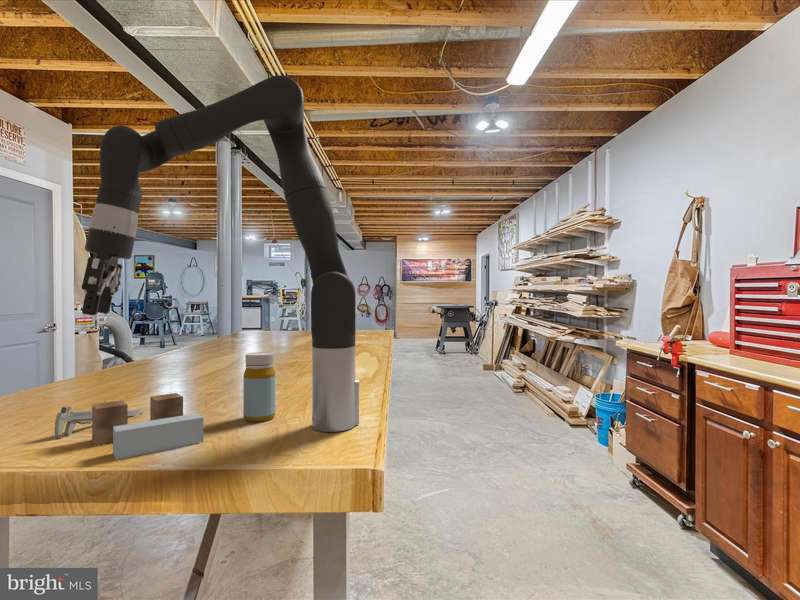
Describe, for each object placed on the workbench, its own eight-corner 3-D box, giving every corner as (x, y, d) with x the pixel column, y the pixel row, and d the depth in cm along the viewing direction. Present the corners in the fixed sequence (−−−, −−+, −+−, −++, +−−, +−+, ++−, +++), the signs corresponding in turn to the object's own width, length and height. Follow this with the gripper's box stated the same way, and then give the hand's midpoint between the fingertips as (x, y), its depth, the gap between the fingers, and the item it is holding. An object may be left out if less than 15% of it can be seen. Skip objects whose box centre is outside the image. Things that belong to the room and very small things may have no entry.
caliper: (58, 440, 82) (58, 408, 82) (54, 440, 83) (54, 408, 83) (144, 413, 102) (144, 388, 102) (141, 413, 102) (141, 387, 102)
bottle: (262, 423, 92) (262, 356, 93) (236, 421, 95) (236, 354, 95) (281, 415, 99) (281, 352, 99) (256, 413, 101) (256, 351, 101)
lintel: (197, 438, 83) (197, 413, 84) (203, 443, 80) (203, 417, 80) (112, 454, 75) (113, 426, 75) (115, 461, 71) (115, 431, 71)
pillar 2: (176, 424, 92) (176, 392, 92) (183, 429, 88) (183, 396, 89) (150, 429, 89) (150, 396, 89) (156, 434, 85) (156, 400, 85)
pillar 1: (122, 434, 85) (122, 400, 85) (127, 440, 82) (127, 404, 82) (92, 440, 82) (92, 404, 82) (96, 446, 78) (96, 409, 78)
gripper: (126, 231, 76) (108, 318, 75) (141, 240, 90) (126, 315, 89) (77, 221, 74) (58, 312, 73) (100, 232, 87) (84, 309, 86)
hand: (96, 313), depth 81 cm, fingers open, 8 cm apart
